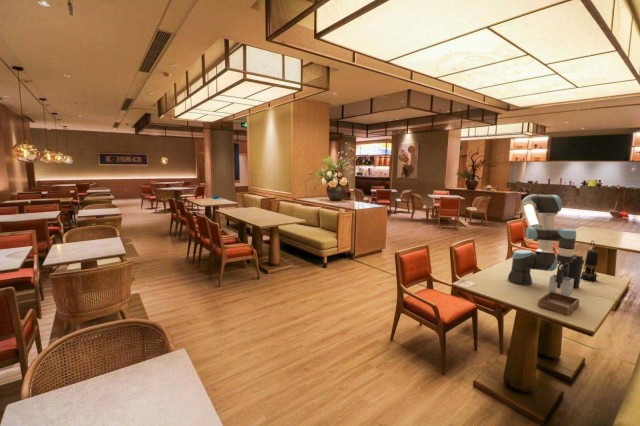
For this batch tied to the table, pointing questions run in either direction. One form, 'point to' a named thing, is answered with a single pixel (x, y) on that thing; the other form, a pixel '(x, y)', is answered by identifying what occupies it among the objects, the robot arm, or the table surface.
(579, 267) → the water bottle
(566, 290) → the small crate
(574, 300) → the walnut crate
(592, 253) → the lantern
